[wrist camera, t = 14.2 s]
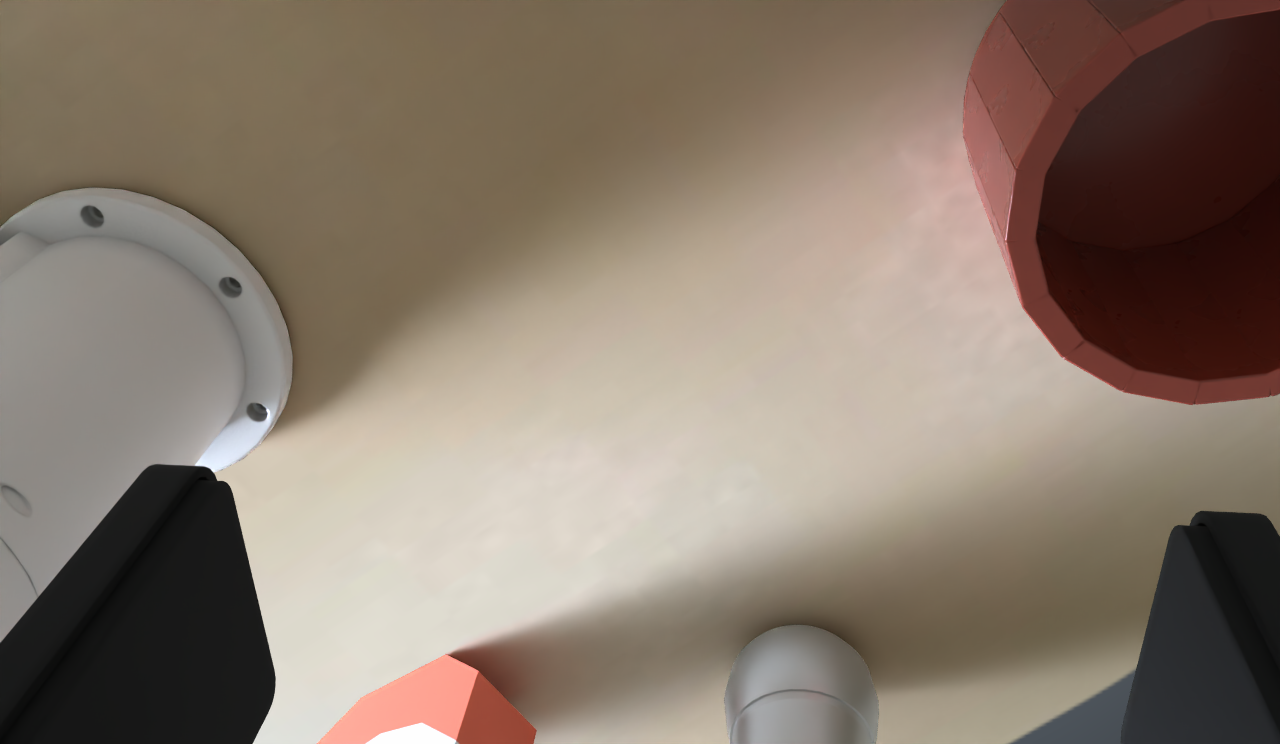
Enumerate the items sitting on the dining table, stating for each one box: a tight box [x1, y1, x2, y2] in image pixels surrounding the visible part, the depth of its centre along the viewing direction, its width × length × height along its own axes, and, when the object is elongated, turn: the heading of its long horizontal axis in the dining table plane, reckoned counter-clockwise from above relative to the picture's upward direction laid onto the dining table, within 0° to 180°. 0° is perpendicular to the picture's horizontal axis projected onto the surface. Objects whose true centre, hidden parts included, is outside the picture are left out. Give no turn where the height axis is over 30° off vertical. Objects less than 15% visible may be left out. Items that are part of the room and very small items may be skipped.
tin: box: [963, 0, 1280, 405], centre depth 35 cm, size 12×12×10 cm
